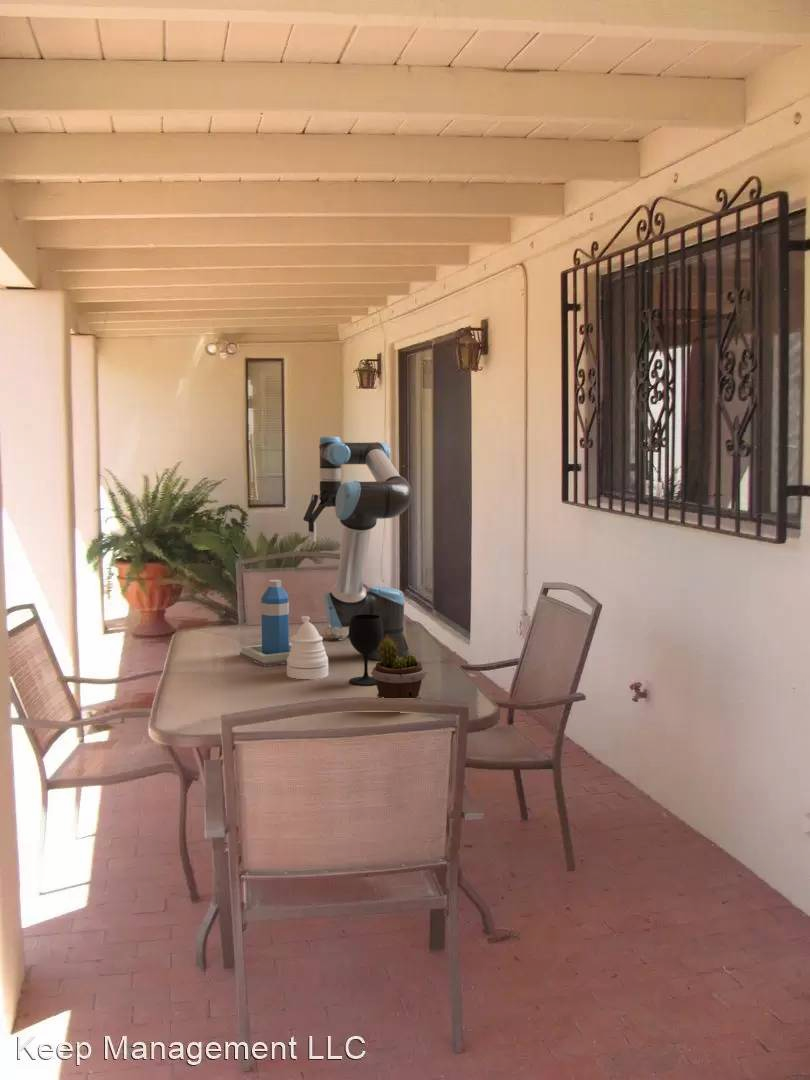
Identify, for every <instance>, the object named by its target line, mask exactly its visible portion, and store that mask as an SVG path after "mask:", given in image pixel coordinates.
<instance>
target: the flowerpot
mask: <svg viewBox="0 0 810 1080" xmlns="http://www.w3.org/2000/svg"><path fill="white" fill-rule="evenodd" d="M386 635H387V634H386ZM383 637H384V636H383ZM387 637H388V636H387ZM384 638H385V639H384V641H383V642H381V647H380V646H378V647H379V648H380V649H378V650H380V652H381V653H380V652H379V654H378V655H381V656H380V657H381V658H382V659H381V660H380V661H378V662H376V664H375V666H374V667H373V668H372V671H371V672H370V674H371V675H372V676H371V677H373V678H374V679H376V685H375V686H376V688H377V691H378V692H377V694H376V698H377V697H378V698H382V697H384V698H414V699H420V700H421V693H420V689H421V685H422V682H423V681H422V680H424V679H425V678H426V674H427V673H428V672H427V671H426V669H425V667H423V666H422V662H421V661H417V657H416V655H414V653H410V652H411V650H409V653H408V652H407V653H408V654H407V653H406V654H405V656H403V657H402V658H399V657H398V656H399V655H396V652H397V650H398V649H397V647H398V646H397V645H398V644H396V643H397V642H396V641H395V643H394V641H392V639H390V638H388V639H387V638H386V637H384ZM393 640H394V639H393ZM395 644H396V645H395ZM396 646H397V647H396ZM378 650H377V651H378ZM398 652H399V651H398ZM380 657H379V658H380ZM396 657H398V658H399V659H398V658H396Z"/></svg>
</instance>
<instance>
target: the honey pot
mask: <svg viewBox="0 0 810 1080" xmlns="http://www.w3.org/2000/svg"><path fill="white" fill-rule="evenodd" d="M300 620H301V621H302V624H301V625H300V627H299V629H298V630H297V631H296V635H292V636H291V637H290V641H291V643H292V647H291V648H290V652H289V656H288V658H287V664H286V676H287V675H288V676H289V677H292V678H297V679H315V680H317V679H316V678H321V679H324V678H323V677H325V678H327V677H328V676H329V657H328V655H327V652H326V647H325V646H324V643H323V640H324V638H323V636H321V635H320V634H319V631H318V630H317V628H316V627H315V626H314V624H312V623H311V622H309V621H310V616H309V615H307V616H305V615H303V616H301V619H300ZM288 676H287V677H288ZM326 676H327V677H326ZM289 677H288V678H289ZM292 678H291V679H292ZM297 679H296V680H297Z"/></svg>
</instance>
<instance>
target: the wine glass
mask: <svg viewBox="0 0 810 1080" xmlns="http://www.w3.org/2000/svg"><path fill="white" fill-rule="evenodd" d="M382 638H383V625H382V621H381V617H380V616H378V615H372V614H361V615H354V616H352V617H351V621H350V625H349V634H348V639H349V642H350V644H351V646H352V647H353V648H354V650H356V651H357V652H358V653H359V654H360V655H362V656H363V663H364V664H363V666H364V667H363V668H364V671H363V675H362V676H355V677H352V678H350V679H349V680H348V683H350V685H355V686H358V685H359V686H360V687H371V686H373V687H374V686H377V685H376V679H374V678H373V676H370V675H369V672H368V669H369V667H368V665H369V664H368V663H369V658H368V657H369V655H370V654H371V653H373V652H374V651H375V650H376V649H377V648H378V646H379V645H380V644H381V642H382Z"/></svg>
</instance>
